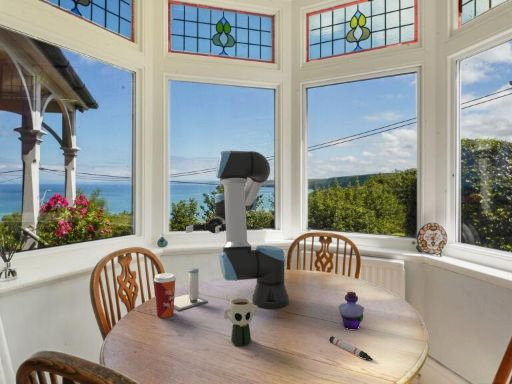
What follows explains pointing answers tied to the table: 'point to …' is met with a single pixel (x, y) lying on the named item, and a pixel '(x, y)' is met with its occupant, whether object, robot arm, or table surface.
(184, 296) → the writing board
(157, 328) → the table surface
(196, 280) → the thick grey marker
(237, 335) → the character mug
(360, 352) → the marker
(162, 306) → the coffee cup
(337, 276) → the table surface
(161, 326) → the table surface
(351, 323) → the potion bottle
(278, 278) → the robot arm
